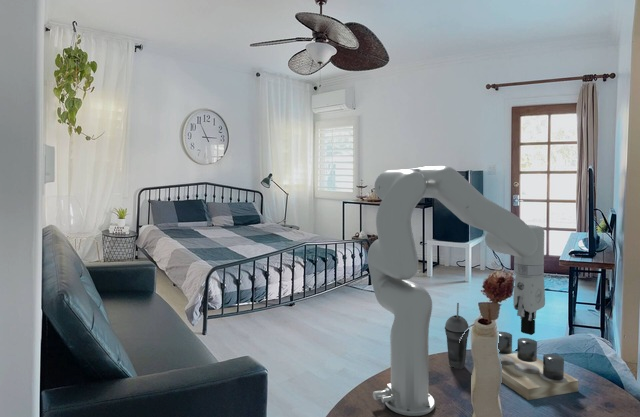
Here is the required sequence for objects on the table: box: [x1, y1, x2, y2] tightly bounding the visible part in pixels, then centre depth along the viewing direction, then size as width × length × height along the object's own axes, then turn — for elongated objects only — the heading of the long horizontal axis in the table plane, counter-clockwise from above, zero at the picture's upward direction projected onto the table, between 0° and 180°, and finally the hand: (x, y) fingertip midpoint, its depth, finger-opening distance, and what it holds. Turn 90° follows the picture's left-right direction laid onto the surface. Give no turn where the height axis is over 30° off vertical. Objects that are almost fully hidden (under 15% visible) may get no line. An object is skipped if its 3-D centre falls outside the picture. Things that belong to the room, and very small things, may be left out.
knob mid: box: [516, 337, 538, 362], centre depth 123 cm, size 5×5×5 cm
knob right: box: [542, 353, 565, 380], centre depth 118 cm, size 5×5×5 cm
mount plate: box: [500, 352, 579, 401], centre depth 124 cm, size 16×20×3 cm
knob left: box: [498, 331, 513, 355], centre depth 129 cm, size 5×5×5 cm
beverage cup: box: [444, 302, 470, 369], centre depth 133 cm, size 7×7×20 cm
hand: (527, 332), depth 123 cm, fingers closed
